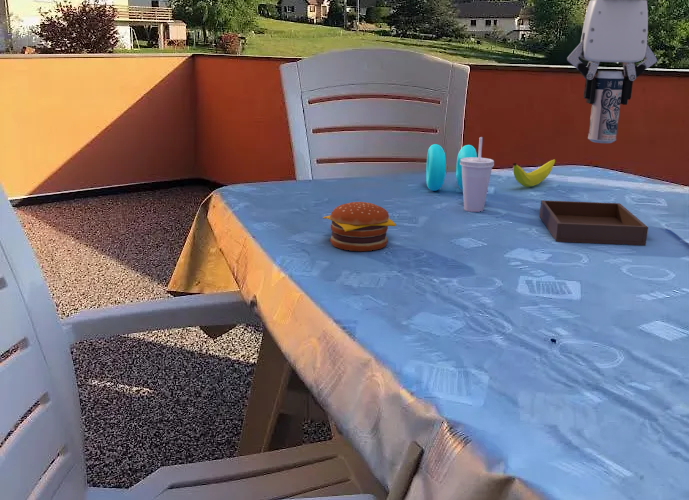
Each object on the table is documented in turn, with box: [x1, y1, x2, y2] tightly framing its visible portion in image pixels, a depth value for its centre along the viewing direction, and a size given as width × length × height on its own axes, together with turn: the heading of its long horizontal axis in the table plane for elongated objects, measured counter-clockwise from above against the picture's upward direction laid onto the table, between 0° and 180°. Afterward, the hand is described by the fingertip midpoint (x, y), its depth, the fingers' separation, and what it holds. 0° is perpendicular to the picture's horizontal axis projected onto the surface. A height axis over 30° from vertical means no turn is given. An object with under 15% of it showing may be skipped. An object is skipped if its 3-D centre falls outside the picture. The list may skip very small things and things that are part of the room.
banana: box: [512, 158, 556, 188], centre depth 159 cm, size 3×19×6 cm, turn 137°
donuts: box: [425, 143, 478, 192], centre depth 152 cm, size 10×10×10 cm
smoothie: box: [460, 136, 495, 213], centre depth 135 cm, size 6×6×14 cm
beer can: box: [587, 70, 624, 144], centre depth 123 cm, size 5×5×12 cm
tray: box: [539, 199, 649, 246], centre depth 123 cm, size 14×17×3 cm
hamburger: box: [322, 201, 397, 252], centre depth 112 cm, size 9×10×7 cm
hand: (606, 102), depth 122 cm, fingers closed on beer can, 4 cm apart
